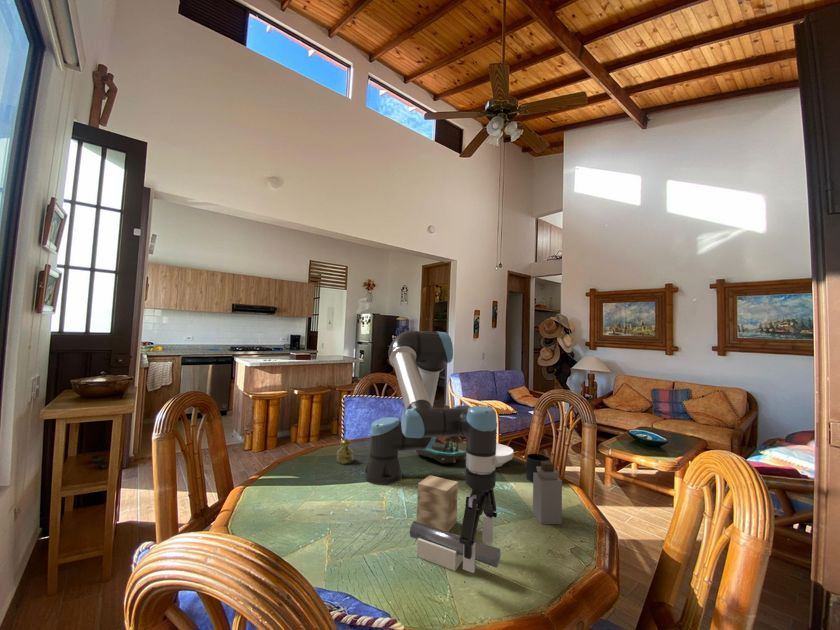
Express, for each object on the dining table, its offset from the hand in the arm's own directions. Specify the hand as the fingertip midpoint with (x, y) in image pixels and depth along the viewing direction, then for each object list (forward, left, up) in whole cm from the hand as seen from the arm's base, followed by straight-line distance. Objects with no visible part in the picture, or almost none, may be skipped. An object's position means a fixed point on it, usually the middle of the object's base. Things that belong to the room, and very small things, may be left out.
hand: (478, 555), depth 90 cm
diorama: (-45, +69, -4) cm, 82 cm away
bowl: (-21, +75, -4) cm, 78 cm away
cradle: (-10, 0, -4) cm, 11 cm away
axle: (-7, 0, -1) cm, 7 cm away
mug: (+2, +69, -4) cm, 69 cm away
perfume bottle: (+10, +37, -4) cm, 39 cm away
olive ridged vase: (-79, +40, -4) cm, 89 cm away
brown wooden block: (-19, +14, -4) cm, 24 cm away
